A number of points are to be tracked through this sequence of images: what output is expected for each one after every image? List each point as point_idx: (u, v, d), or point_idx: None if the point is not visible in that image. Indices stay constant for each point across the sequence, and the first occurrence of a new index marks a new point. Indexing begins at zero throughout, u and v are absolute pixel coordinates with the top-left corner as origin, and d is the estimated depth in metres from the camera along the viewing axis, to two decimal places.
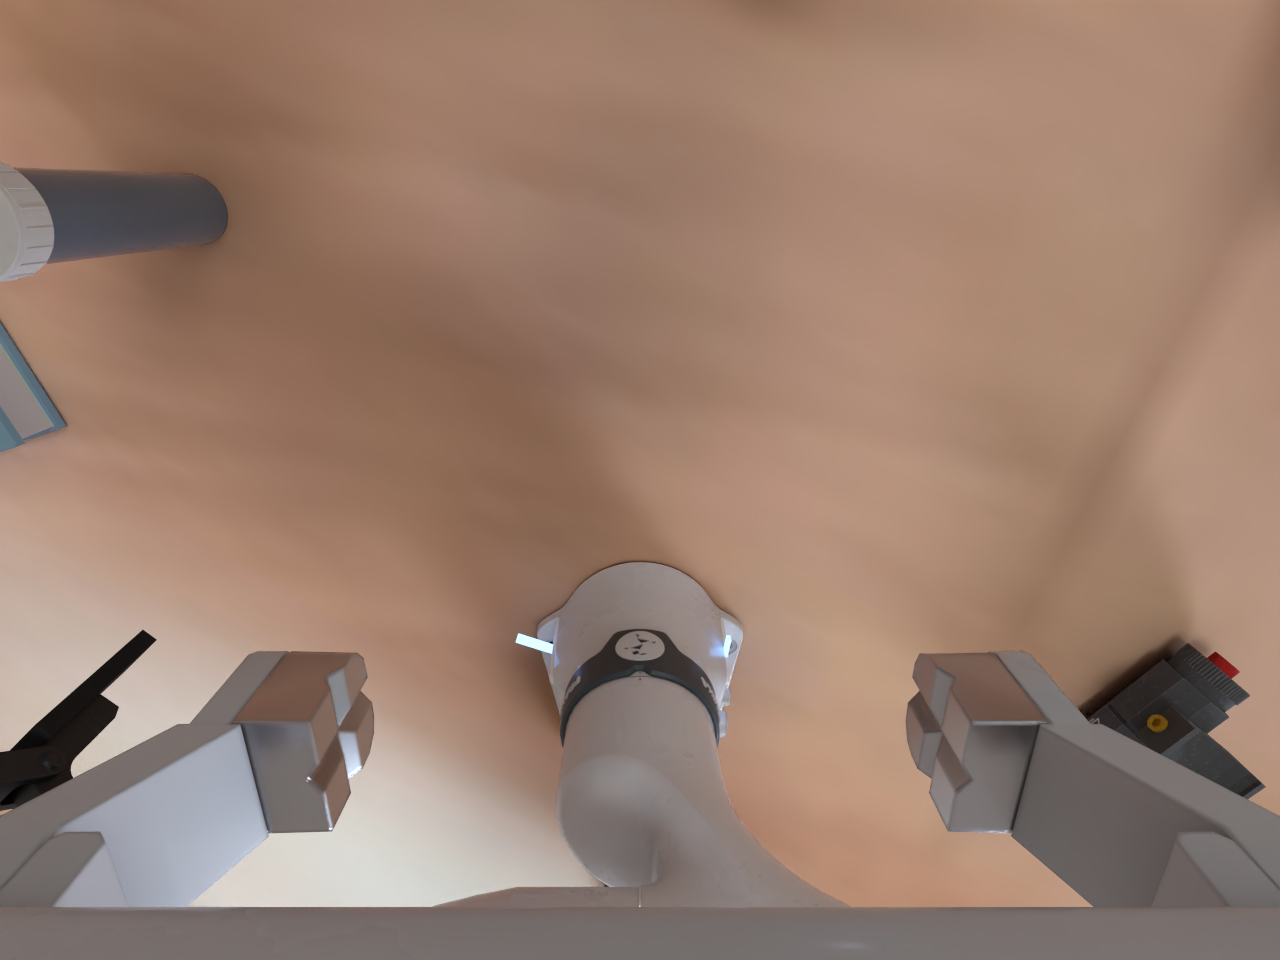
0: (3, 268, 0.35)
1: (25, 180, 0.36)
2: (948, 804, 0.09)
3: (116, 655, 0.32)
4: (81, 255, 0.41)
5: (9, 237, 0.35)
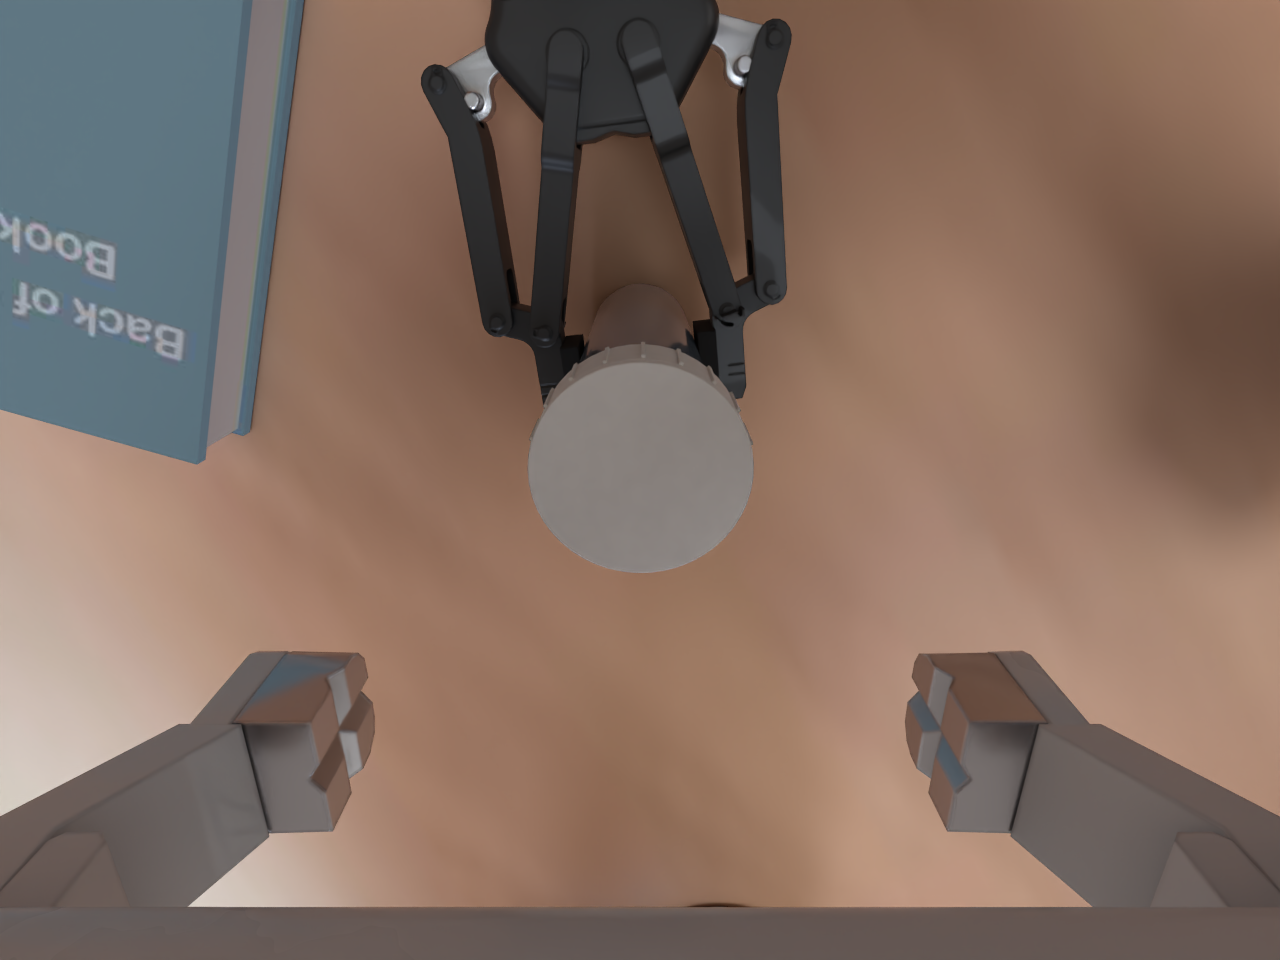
0: (640, 567, 0.20)
1: None
2: (947, 803, 0.09)
3: None
4: None
5: (694, 542, 0.19)
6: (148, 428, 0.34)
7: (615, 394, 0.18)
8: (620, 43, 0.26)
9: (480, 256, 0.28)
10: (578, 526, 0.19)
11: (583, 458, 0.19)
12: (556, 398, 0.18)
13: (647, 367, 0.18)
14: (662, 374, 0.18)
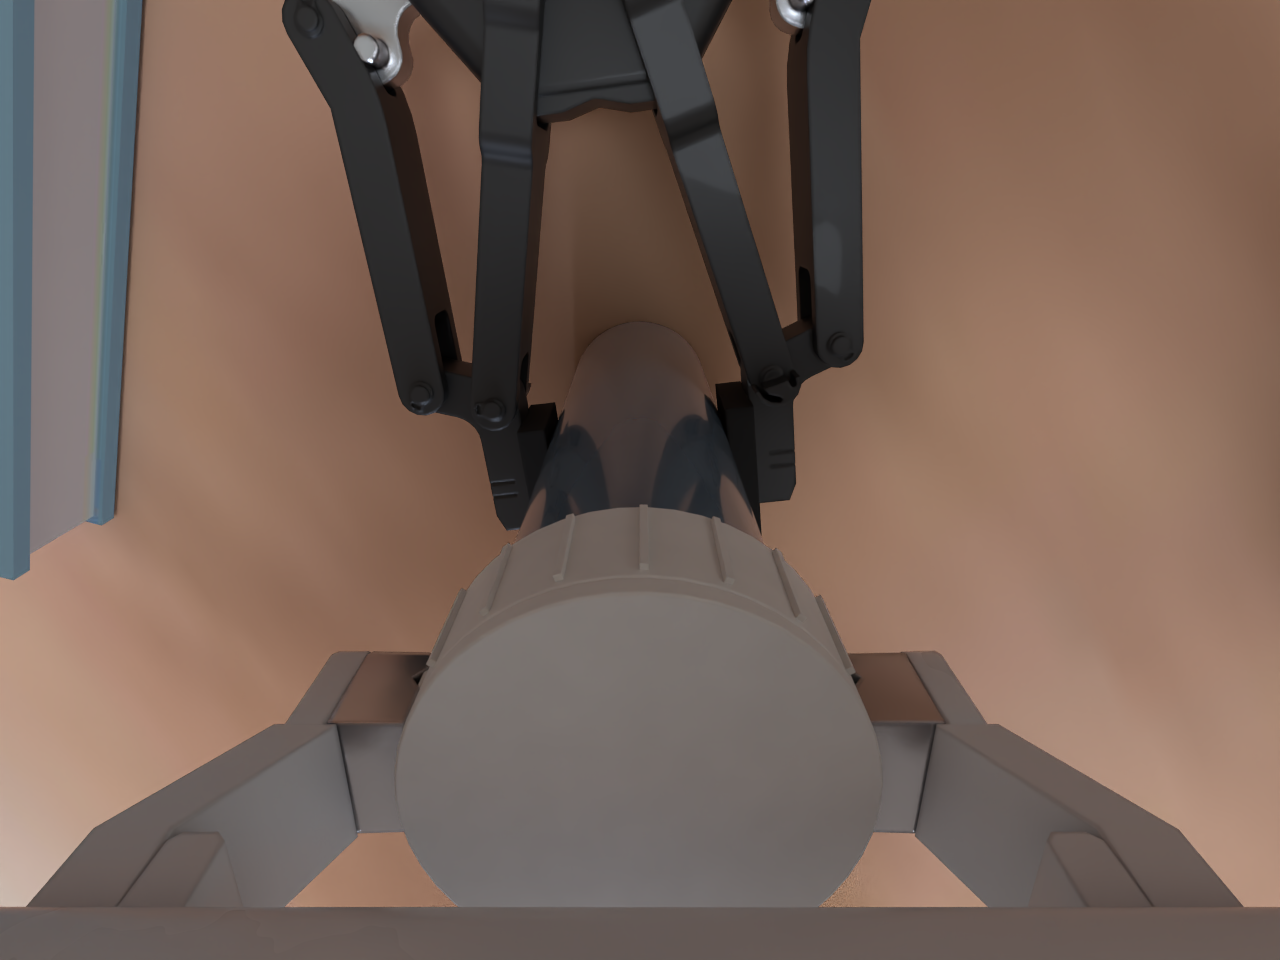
0: None
1: None
2: None
3: None
4: None
5: None
6: None
7: (581, 656, 0.08)
8: None
9: (391, 295, 0.18)
10: (506, 893, 0.09)
11: (514, 777, 0.09)
12: (448, 663, 0.08)
13: (654, 601, 0.08)
14: (688, 617, 0.08)
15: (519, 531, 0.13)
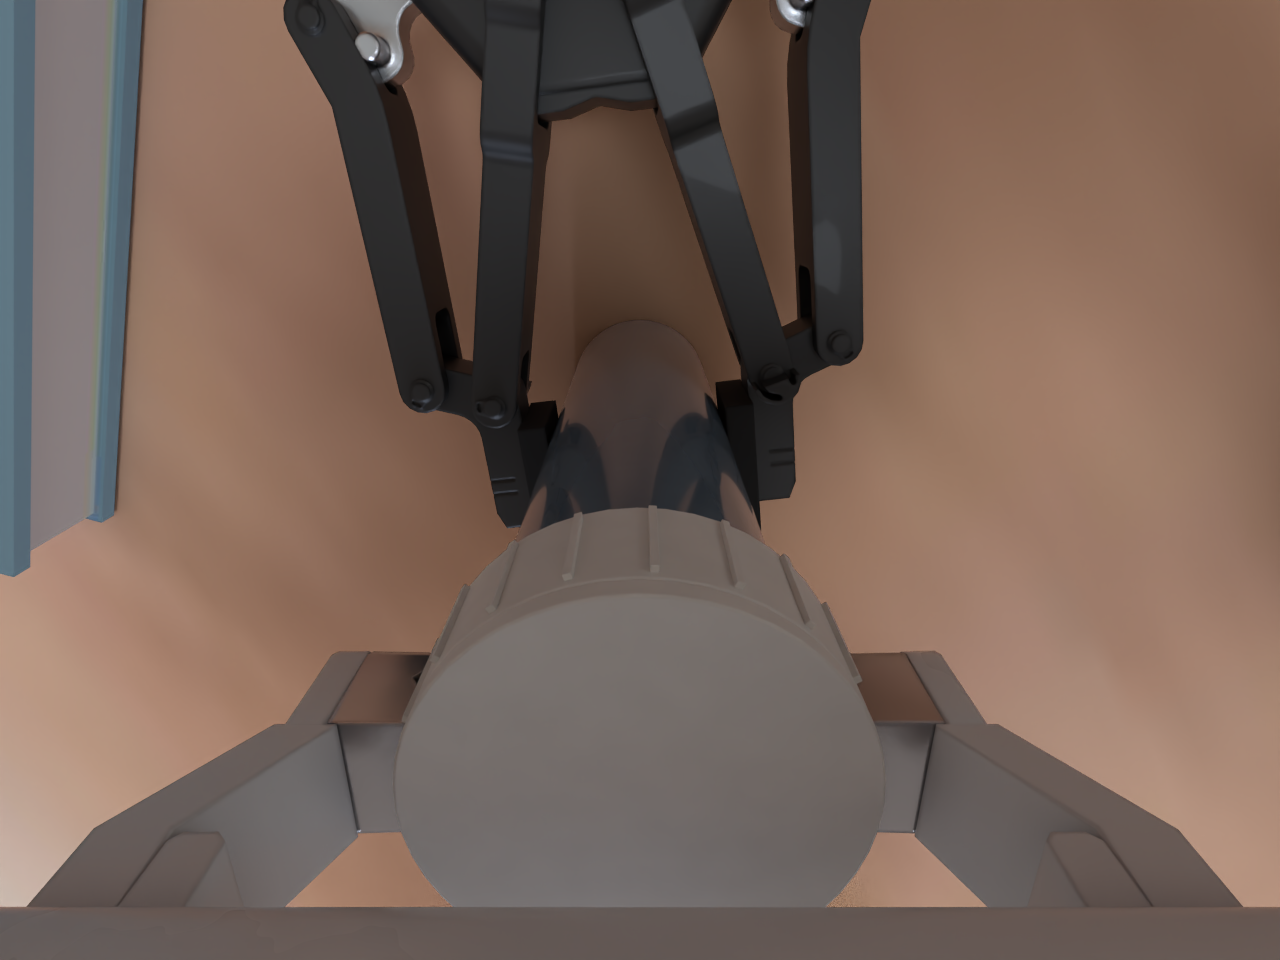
0: (870, 801, 0.09)
1: (619, 514, 0.09)
2: None
3: None
4: None
5: (811, 703, 0.08)
6: None
7: (469, 852, 0.09)
8: None
9: (392, 293, 0.18)
10: (762, 904, 0.09)
11: (610, 897, 0.09)
12: None
13: (406, 801, 0.09)
14: (412, 782, 0.08)
15: (520, 528, 0.13)
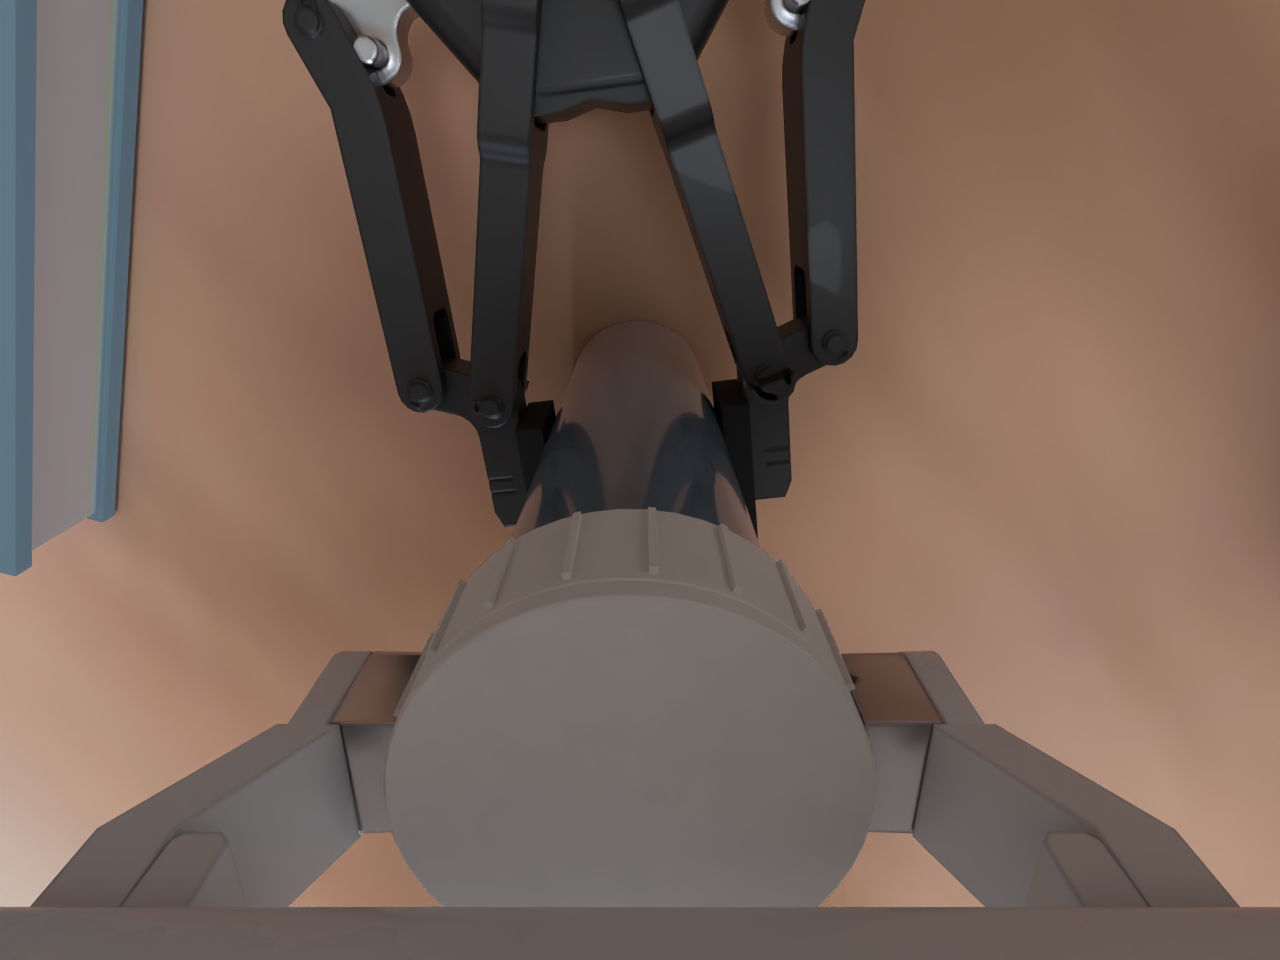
0: (602, 614, 0.08)
1: None
2: None
3: None
4: None
5: (480, 681, 0.08)
6: None
7: None
8: None
9: (390, 293, 0.18)
10: (767, 696, 0.08)
11: (754, 827, 0.09)
12: None
13: None
14: None
15: (515, 525, 0.13)
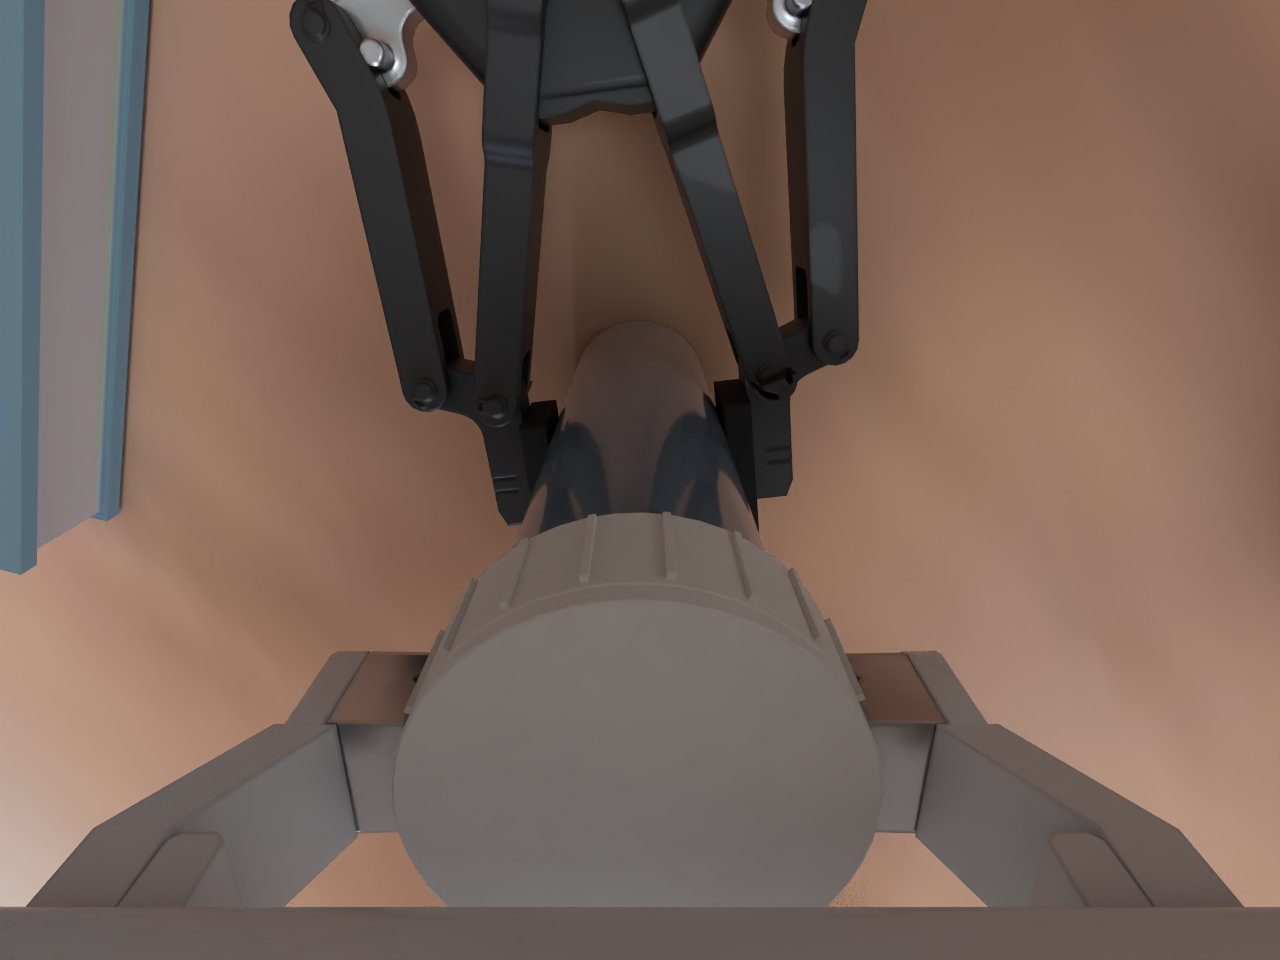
0: (413, 838, 0.09)
1: None
2: None
3: None
4: None
5: None
6: None
7: (811, 751, 0.08)
8: None
9: (395, 294, 0.19)
10: (484, 713, 0.08)
11: (656, 710, 0.08)
12: (793, 644, 0.08)
13: (869, 794, 0.09)
14: (859, 823, 0.09)
15: (521, 524, 0.13)
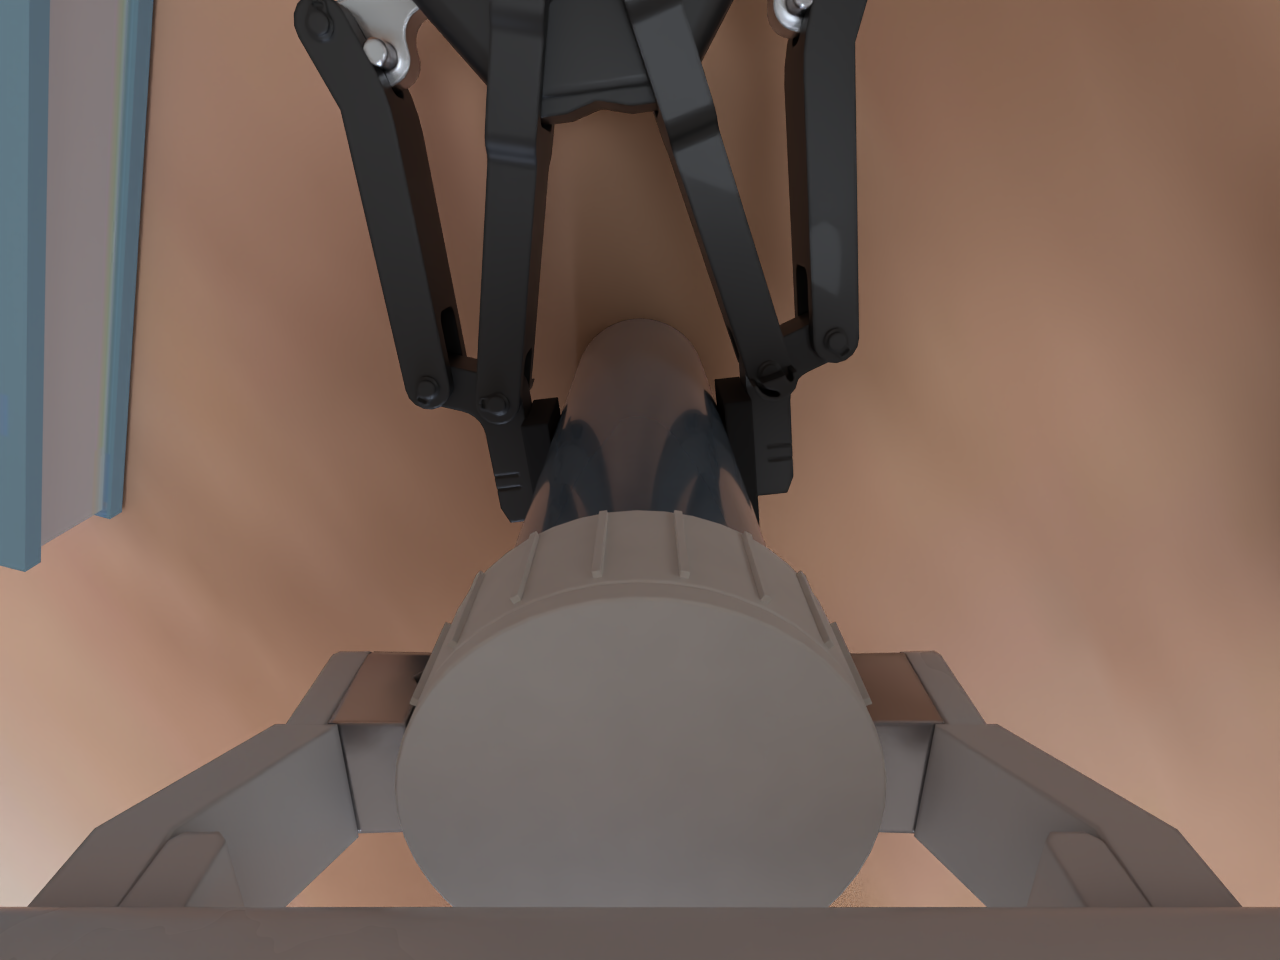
0: None
1: None
2: None
3: None
4: None
5: None
6: None
7: (548, 673, 0.08)
8: None
9: (398, 292, 0.19)
10: None
11: (512, 801, 0.09)
12: (423, 700, 0.08)
13: (607, 608, 0.08)
14: (644, 618, 0.08)
15: (525, 519, 0.14)
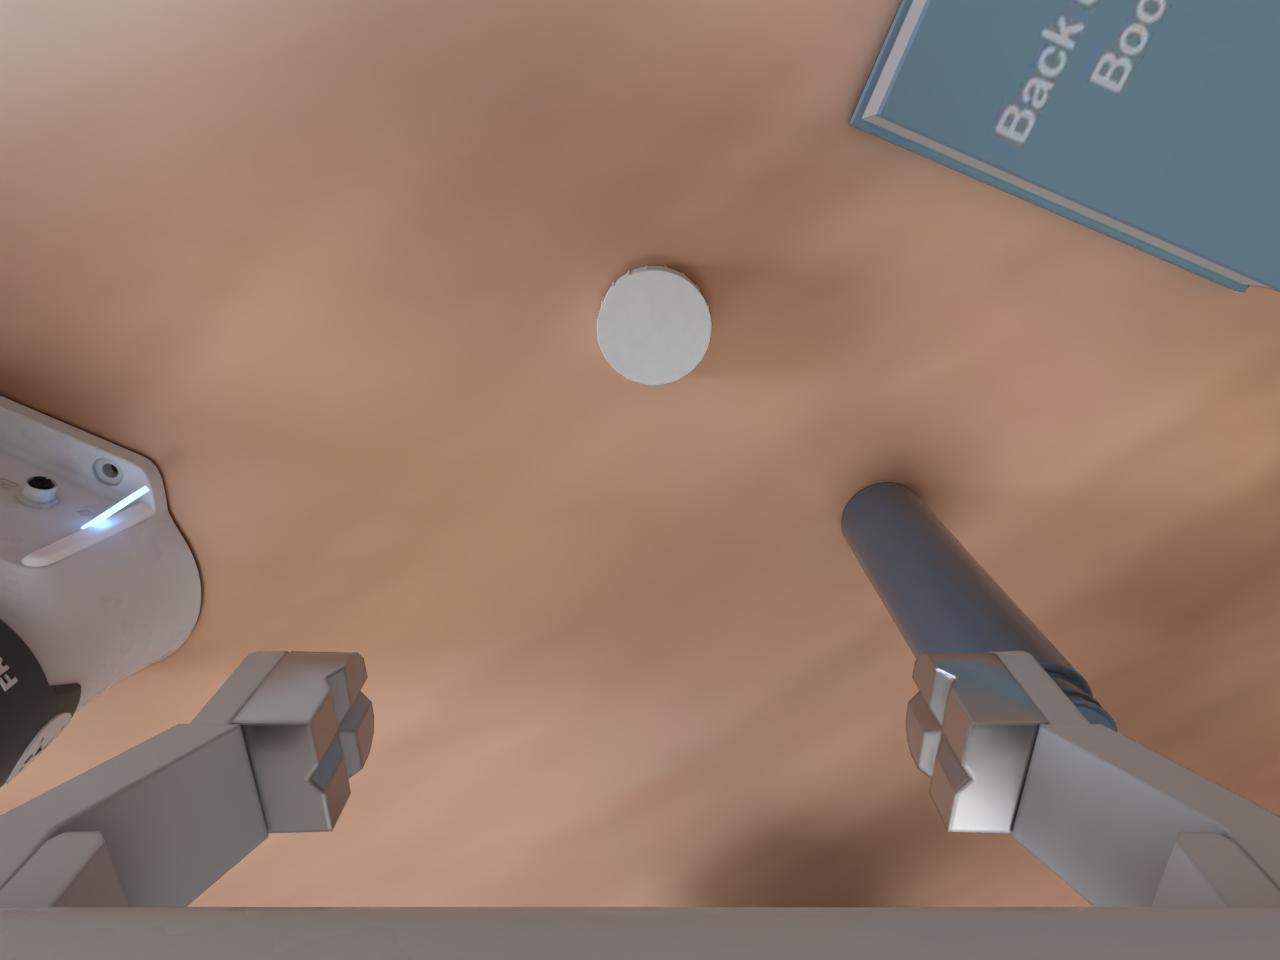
0: (662, 381, 0.38)
1: None
2: (948, 803, 0.09)
3: None
4: None
5: (687, 363, 0.38)
6: (931, 65, 0.30)
7: (635, 289, 0.36)
8: None
9: None
10: (626, 363, 0.38)
11: (624, 325, 0.37)
12: (607, 295, 0.36)
13: (649, 273, 0.36)
14: (657, 275, 0.36)
15: (1034, 628, 0.29)
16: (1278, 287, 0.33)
